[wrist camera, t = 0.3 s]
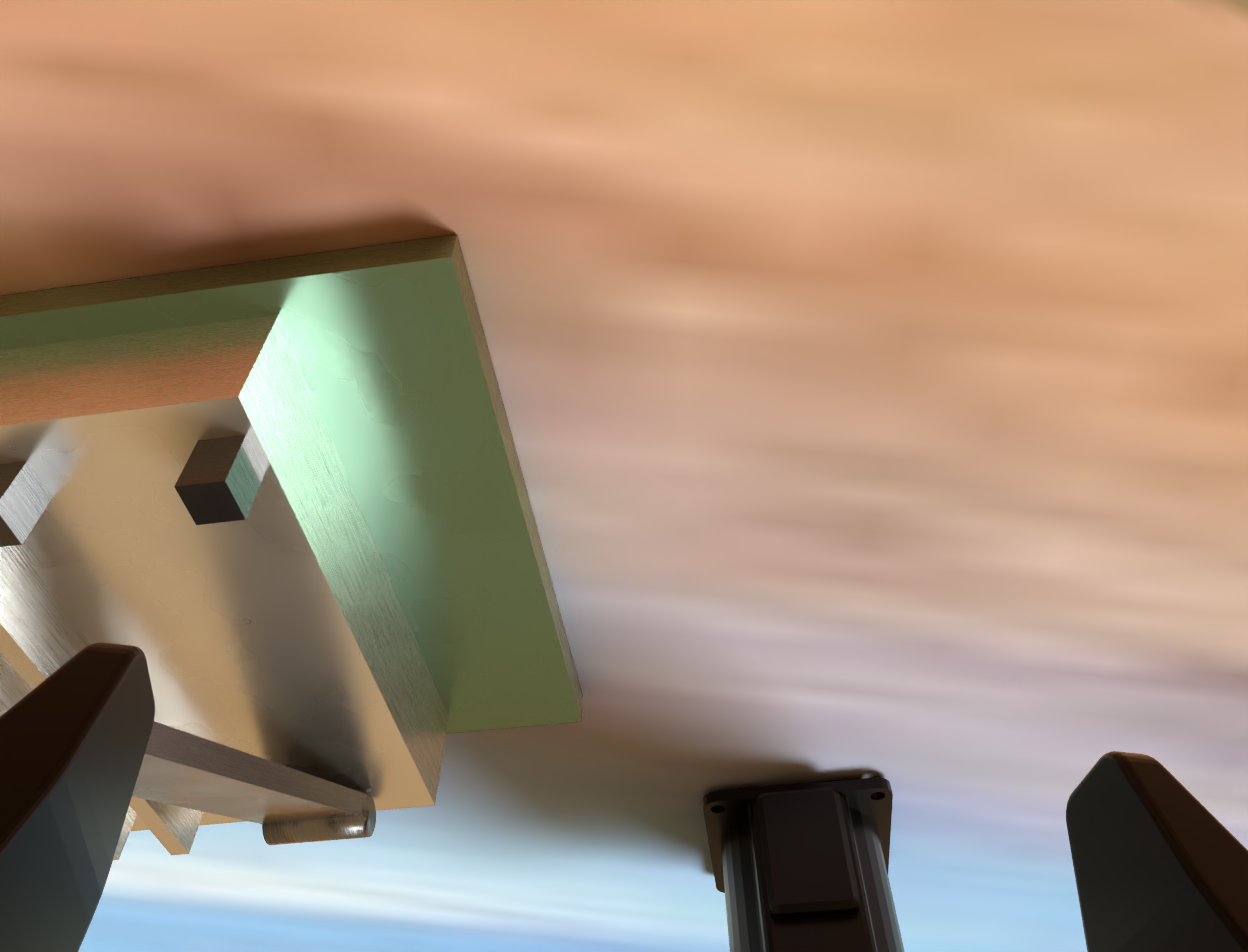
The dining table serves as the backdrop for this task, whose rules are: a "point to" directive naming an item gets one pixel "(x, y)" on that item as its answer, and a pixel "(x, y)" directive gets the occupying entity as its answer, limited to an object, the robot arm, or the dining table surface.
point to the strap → (250, 790)
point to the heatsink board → (394, 446)
